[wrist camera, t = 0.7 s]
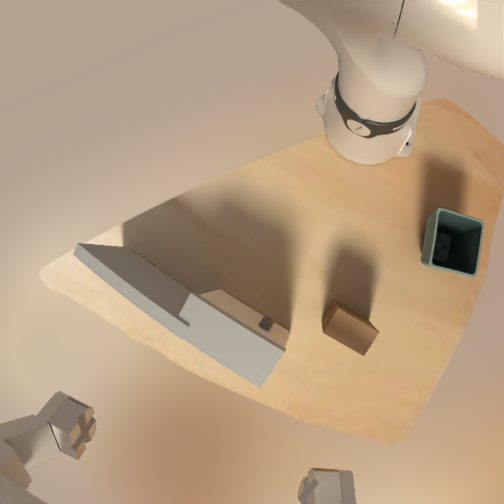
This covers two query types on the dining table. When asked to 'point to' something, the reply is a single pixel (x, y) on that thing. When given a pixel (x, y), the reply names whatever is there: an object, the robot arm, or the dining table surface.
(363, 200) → the dining table surface
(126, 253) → the wall
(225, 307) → the door panel
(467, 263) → the flower pot
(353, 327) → the walnut block
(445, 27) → the robot arm
